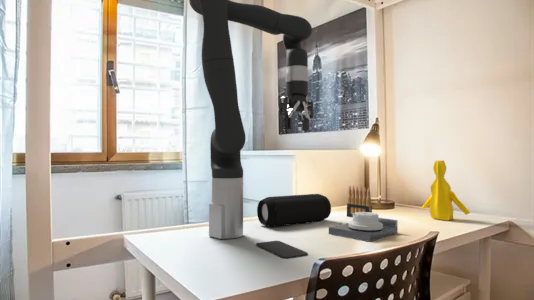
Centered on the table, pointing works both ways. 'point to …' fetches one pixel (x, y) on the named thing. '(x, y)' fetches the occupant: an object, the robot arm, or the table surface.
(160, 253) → the table surface
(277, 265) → the table surface
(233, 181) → the robot arm
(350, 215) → the ammunition clip
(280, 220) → the portable speaker
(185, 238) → the table surface
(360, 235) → the plate
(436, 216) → the figure statuette
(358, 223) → the mechanical component
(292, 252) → the phone
